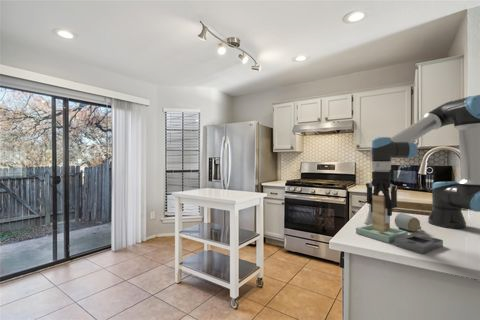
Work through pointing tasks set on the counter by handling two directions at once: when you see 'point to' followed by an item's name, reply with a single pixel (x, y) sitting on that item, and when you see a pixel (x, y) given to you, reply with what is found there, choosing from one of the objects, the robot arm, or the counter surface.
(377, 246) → the counter surface
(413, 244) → the gray slotted block
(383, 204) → the wooden peg
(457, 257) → the counter surface
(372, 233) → the green tray
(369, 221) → the flask
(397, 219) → the grey cylinder
